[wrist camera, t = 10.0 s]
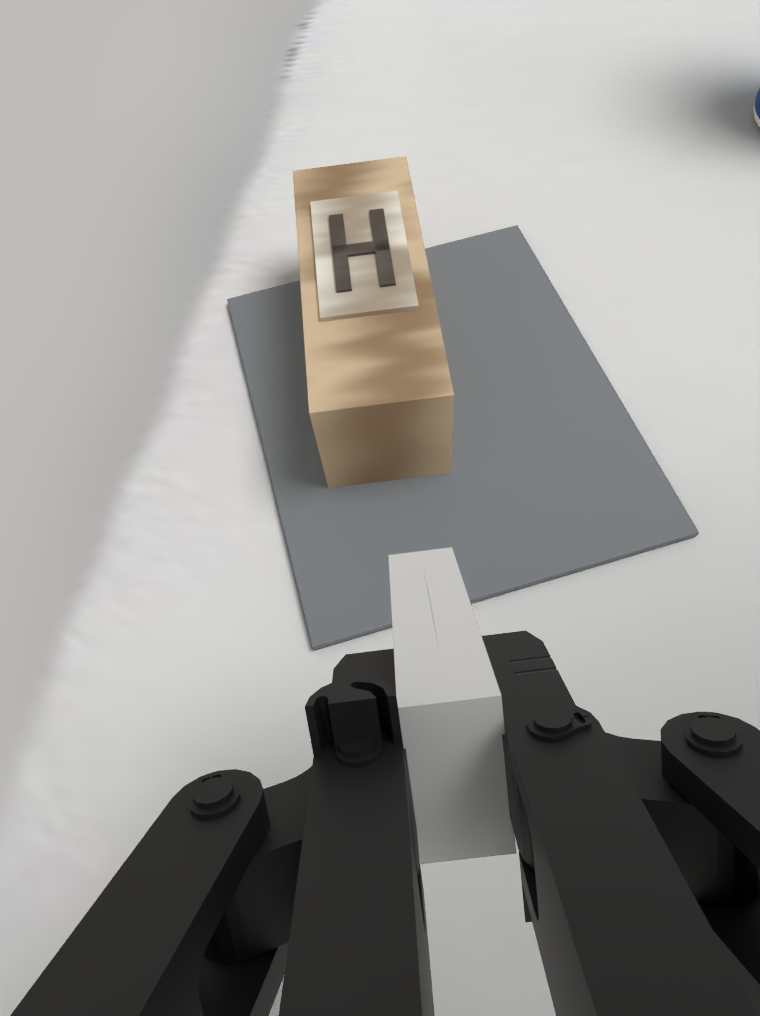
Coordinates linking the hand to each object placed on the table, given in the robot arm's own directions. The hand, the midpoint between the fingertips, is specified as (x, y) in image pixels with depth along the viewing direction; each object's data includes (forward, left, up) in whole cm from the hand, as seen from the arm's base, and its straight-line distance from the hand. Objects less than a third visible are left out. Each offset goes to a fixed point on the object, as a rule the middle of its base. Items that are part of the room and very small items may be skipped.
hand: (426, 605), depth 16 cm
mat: (-5, -16, -14) cm, 21 cm away
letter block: (-2, -12, -10) cm, 16 cm away
